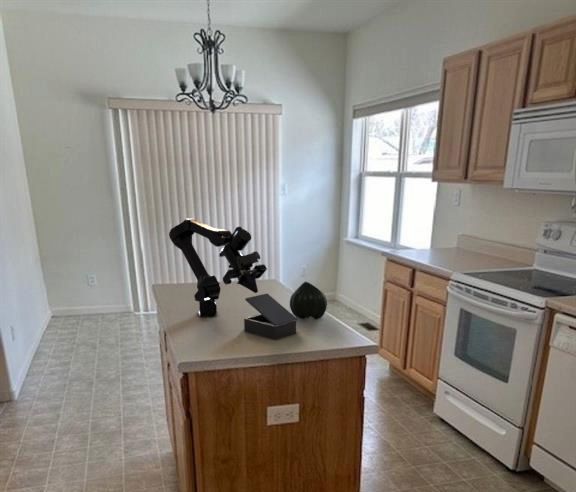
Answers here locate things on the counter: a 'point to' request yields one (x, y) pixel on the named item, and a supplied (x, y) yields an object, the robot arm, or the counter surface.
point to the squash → (308, 302)
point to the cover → (271, 309)
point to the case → (268, 327)
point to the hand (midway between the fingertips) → (256, 292)
